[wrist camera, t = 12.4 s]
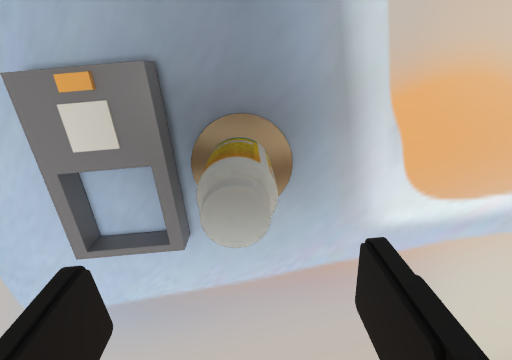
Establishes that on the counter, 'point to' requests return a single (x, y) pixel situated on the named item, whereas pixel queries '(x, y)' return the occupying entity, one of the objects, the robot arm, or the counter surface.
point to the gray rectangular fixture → (100, 146)
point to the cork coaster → (248, 128)
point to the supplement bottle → (237, 193)
